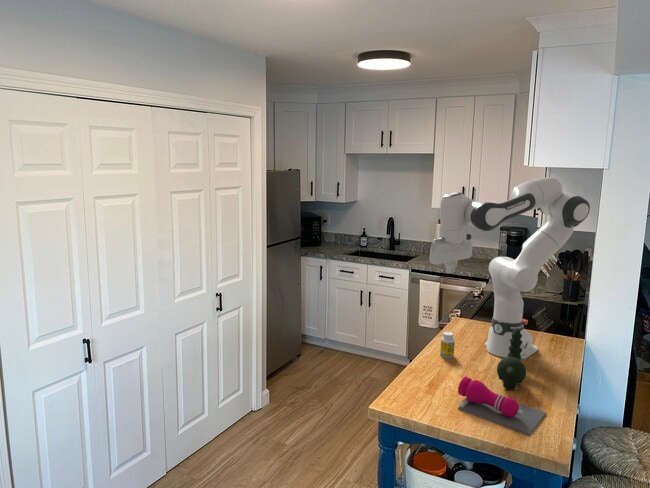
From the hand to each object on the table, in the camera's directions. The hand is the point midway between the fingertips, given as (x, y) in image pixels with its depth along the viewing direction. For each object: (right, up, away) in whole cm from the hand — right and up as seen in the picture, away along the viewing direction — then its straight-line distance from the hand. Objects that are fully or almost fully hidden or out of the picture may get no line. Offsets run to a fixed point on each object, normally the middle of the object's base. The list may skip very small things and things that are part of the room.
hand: (450, 272), depth 179 cm
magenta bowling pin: (-2, -36, -23) cm, 42 cm away
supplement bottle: (+2, -35, +13) cm, 37 cm away
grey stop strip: (+1, -41, -22) cm, 47 cm away
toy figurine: (+20, -39, -8) cm, 44 cm away
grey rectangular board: (+9, -42, -29) cm, 52 cm away
